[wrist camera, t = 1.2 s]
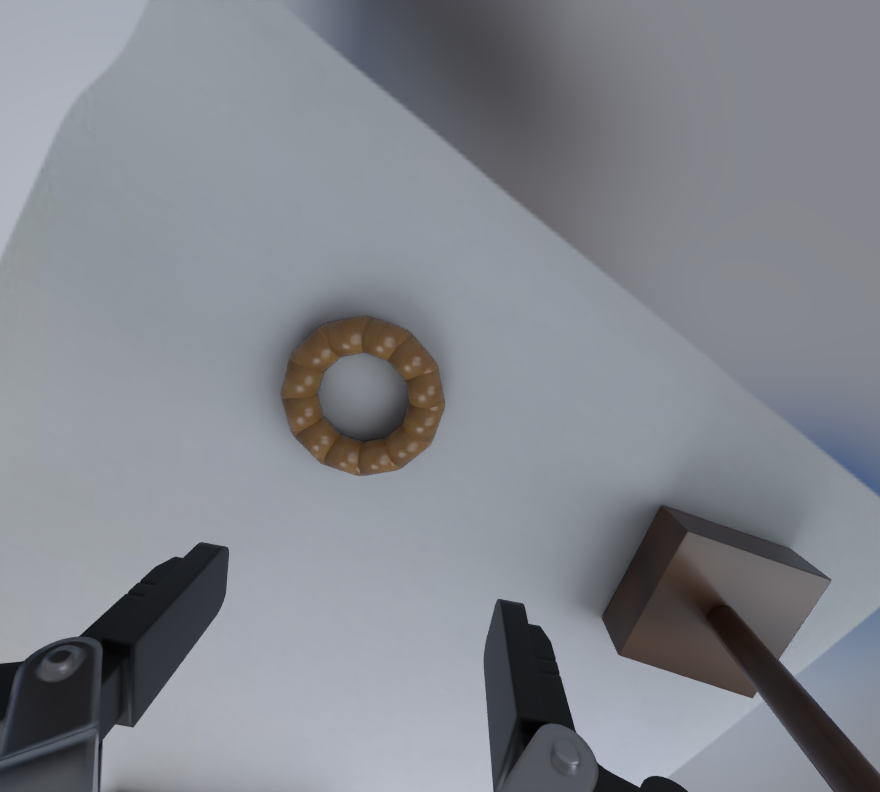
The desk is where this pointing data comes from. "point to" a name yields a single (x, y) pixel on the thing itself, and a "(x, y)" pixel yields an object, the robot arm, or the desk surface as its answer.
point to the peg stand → (731, 627)
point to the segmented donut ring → (383, 344)
